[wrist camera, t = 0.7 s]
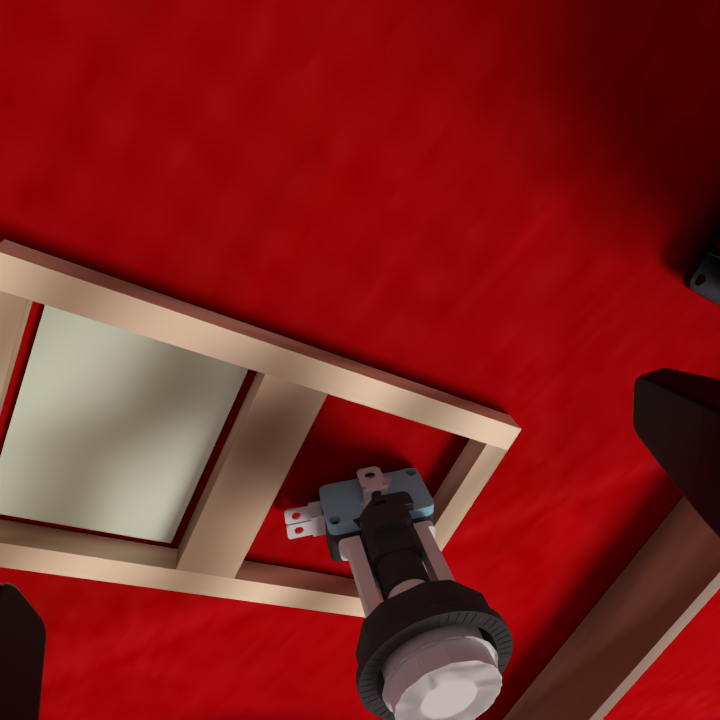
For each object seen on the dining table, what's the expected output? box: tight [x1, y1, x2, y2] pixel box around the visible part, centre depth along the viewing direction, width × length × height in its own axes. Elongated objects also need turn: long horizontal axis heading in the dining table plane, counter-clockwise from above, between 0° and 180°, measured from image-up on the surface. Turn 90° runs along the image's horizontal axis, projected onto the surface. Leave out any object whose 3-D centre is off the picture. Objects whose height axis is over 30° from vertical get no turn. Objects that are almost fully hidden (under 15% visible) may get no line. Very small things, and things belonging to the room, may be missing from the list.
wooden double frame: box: [0, 240, 521, 617], centre depth 23 cm, size 21×12×1 cm, turn 63°
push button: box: [284, 466, 513, 720], centre depth 21 cm, size 7×5×10 cm
